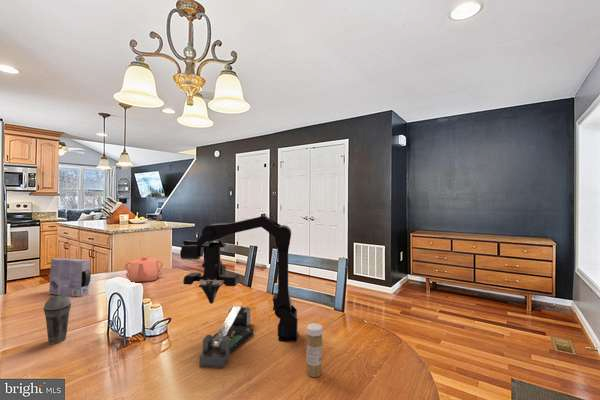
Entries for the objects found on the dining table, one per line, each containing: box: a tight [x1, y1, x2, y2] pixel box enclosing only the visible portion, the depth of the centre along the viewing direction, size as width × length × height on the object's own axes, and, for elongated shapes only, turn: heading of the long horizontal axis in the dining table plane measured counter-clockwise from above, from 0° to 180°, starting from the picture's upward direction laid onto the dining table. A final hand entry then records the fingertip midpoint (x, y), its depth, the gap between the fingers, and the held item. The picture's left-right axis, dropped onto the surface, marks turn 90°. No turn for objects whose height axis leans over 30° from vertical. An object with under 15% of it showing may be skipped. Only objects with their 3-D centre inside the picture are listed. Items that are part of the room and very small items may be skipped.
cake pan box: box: [48, 257, 92, 298], centre depth 143 cm, size 19×5×18 cm, turn 82°
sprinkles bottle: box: [305, 322, 324, 378], centre depth 82 cm, size 5×5×14 cm
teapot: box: [124, 255, 164, 283], centre depth 167 cm, size 20×19×14 cm
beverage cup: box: [43, 281, 72, 344], centre depth 98 cm, size 7×7×20 cm
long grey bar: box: [211, 301, 245, 348], centre depth 99 cm, size 3×25×2 cm, turn 175°
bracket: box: [198, 306, 252, 369], centre depth 98 cm, size 7×30×7 cm, turn 175°
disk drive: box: [212, 324, 254, 355], centre depth 99 cm, size 10×3×15 cm
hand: (211, 303), depth 102 cm, fingers closed
